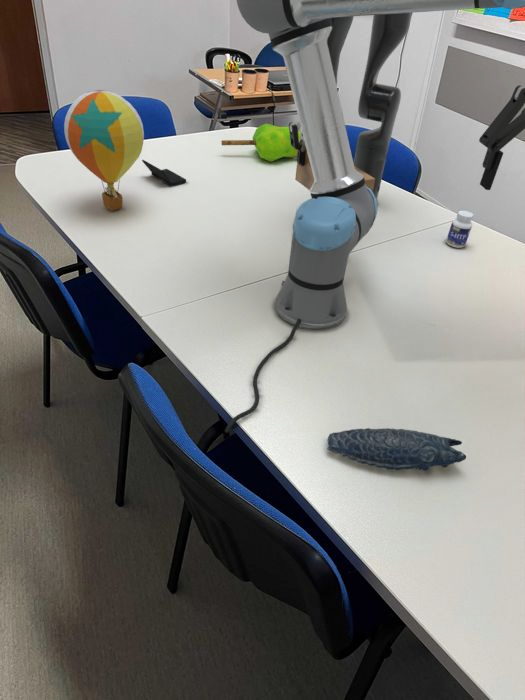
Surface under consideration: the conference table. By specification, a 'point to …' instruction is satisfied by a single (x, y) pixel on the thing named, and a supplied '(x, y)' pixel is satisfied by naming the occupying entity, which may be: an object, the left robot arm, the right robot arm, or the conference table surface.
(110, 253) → the conference table surface
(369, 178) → the bar
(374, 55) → the right robot arm
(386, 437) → the fish model
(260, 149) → the decorative tree
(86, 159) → the toy
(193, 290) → the conference table surface
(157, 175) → the black angled flat piece
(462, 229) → the pill bottle
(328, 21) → the left robot arm
